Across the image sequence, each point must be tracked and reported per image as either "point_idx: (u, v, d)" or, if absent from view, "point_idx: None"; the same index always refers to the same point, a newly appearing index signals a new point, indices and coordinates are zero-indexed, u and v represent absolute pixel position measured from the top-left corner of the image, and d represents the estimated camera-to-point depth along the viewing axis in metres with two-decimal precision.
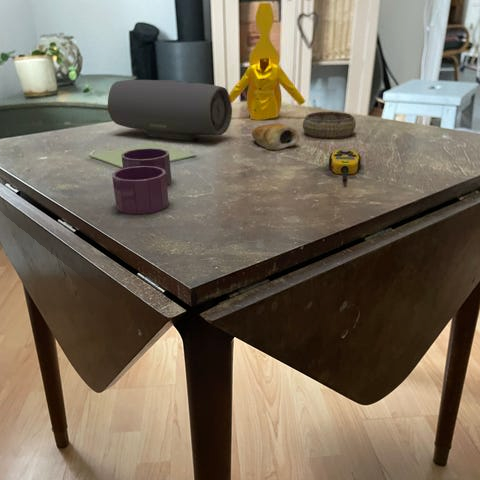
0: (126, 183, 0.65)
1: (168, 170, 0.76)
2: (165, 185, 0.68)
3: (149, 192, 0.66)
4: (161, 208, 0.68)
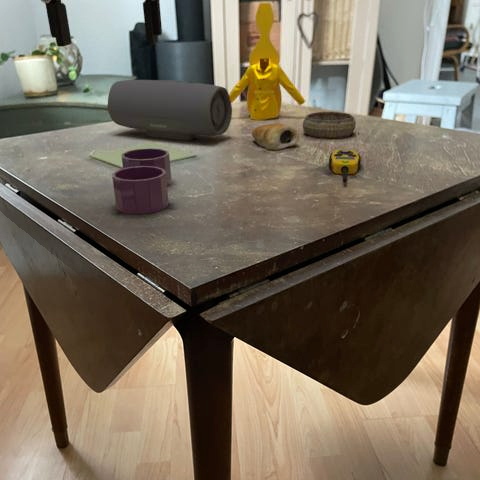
0: (126, 183, 0.65)
1: (168, 170, 0.76)
2: (165, 185, 0.68)
3: (149, 192, 0.66)
4: (161, 208, 0.68)
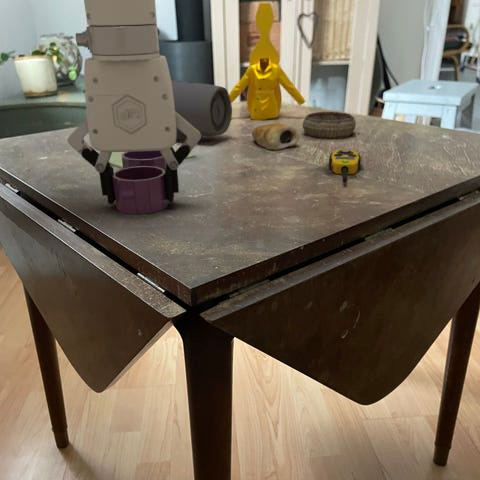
0: (126, 183, 0.65)
1: None
2: (165, 185, 0.68)
3: (149, 192, 0.66)
4: (161, 208, 0.68)
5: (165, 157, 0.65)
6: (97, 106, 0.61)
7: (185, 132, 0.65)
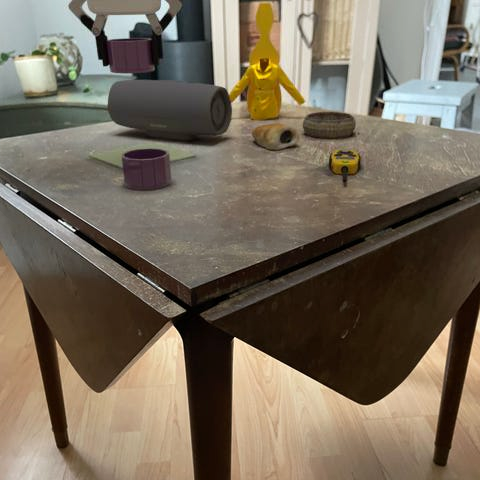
0: (118, 44, 0.77)
1: (168, 170, 0.76)
2: (151, 50, 0.80)
3: (138, 53, 0.78)
4: (148, 70, 0.80)
5: (151, 22, 0.77)
6: None
7: (168, 0, 0.77)
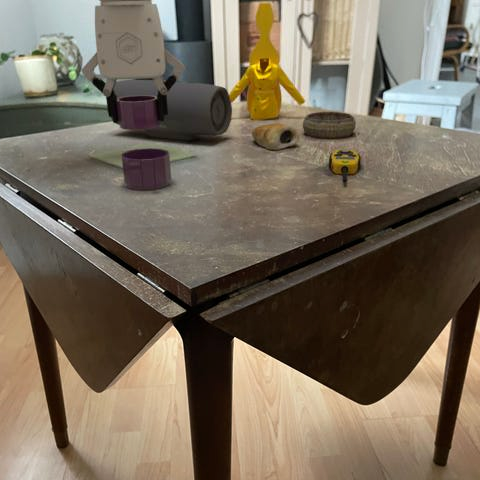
0: (127, 104, 0.84)
1: (168, 170, 0.76)
2: (157, 108, 0.87)
3: (145, 111, 0.85)
4: (154, 126, 0.87)
5: (157, 84, 0.85)
6: (104, 42, 0.80)
7: (172, 64, 0.84)
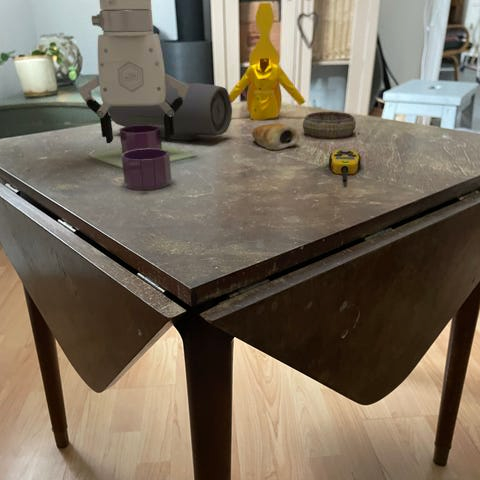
0: (130, 135, 0.87)
1: (168, 170, 0.76)
2: (159, 138, 0.89)
3: (147, 142, 0.87)
4: None
5: (163, 108, 0.86)
6: (107, 70, 0.82)
7: (176, 87, 0.86)
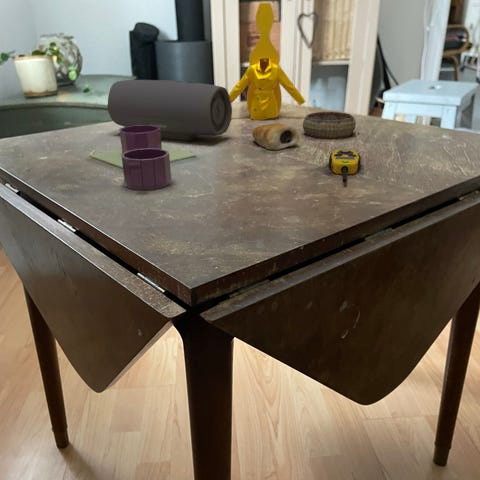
0: (130, 135, 0.87)
1: (168, 170, 0.76)
2: (159, 138, 0.89)
3: (147, 142, 0.87)
4: None
5: None
6: None
7: None
